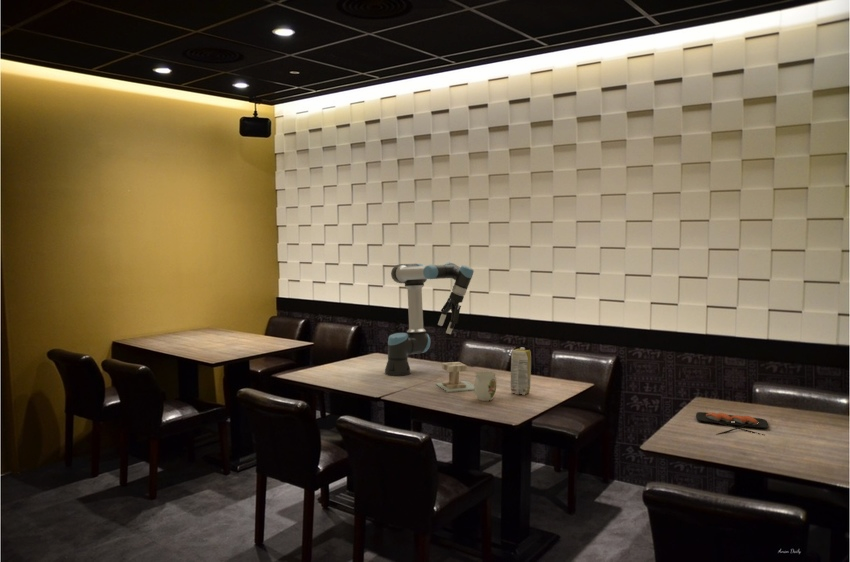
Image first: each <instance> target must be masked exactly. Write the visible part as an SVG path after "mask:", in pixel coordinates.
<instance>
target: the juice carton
mask: <svg viewBox="0 0 850 562" xmlns="http://www.w3.org/2000/svg"><path fill="white" fill-rule="evenodd" d="M531 354H532V352H531V349H526V348H525V347H519V348H516V349H515V348H514V349H512V350H511V357H510V393H511V394H513V393H515V394H514V395H519V394H522V395H521V396H526V395H528V394H529V393H530V390H531V375H532V372H531V371H532V355H531ZM527 393H528V394H527ZM525 394H526V395H525Z"/></svg>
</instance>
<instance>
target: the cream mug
mask: <svg viewBox="0 0 850 562" xmlns="http://www.w3.org/2000/svg"><path fill="white" fill-rule="evenodd" d="M474 374H475V380H474V382H473V383H474V384H473V385H474V389H475V390H474V393H475V396H476V398H477V399H478V401H481V400H482V401H483V402H489V400H490V401H492V399H493V398H494V397H495V394H496V390H497V376H496V375H497V374H496V372H493V371H487V370H486V371H485V370H484V371H483V370H482V371H475V373H474Z"/></svg>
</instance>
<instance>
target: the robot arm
mask: <svg viewBox="0 0 850 562" xmlns="http://www.w3.org/2000/svg"><path fill="white" fill-rule="evenodd" d="M474 272H475V271H474V269H473V268H471V267H469V266H467V265H461V266H459V265H457V264H455V263H453V262H447V263H444V264H429V265H423V264H421V263H399V264H397V265H394V266H393V267H392V269H391V272H390V276H391V279H392V280H393V281H394V282H395V283H396V284H397V283H398V284H404V287H405V288H406V290H407V305H408V306H407V307H408V309H407V310H408V329H407V331H406V332H395V333H393V334H389V336H388V340H387V362H386V365H385V368H384V374H385V375H387V374H388V376H393V375H394V376H396V377H401V376H408V375H411V367H410V364H409V361H408V358H409V357H408V356H409V355H415V354H422V353H426V352H427V351H428V350H429V348H431V347H430V346H431V337H430V335H429V333H427V330H426V329H425V328H424V311H423V293H422V291H423V288H424V287H425V283H427V280H438V279H452V280H454V284H453V285H452V289H451V292H450V295H449V297H448V298H447V300H446V302H445V303H444V305H443V307H442V308H441V310H440V312H441V315H440V316H439V320H438V323H437V325H438V326H440V327H442V326H443V325H444V323H445V320H446V318H447V315H448V313H449V312H450V311H451V318H450V319H451V320H450V321H449V324H448V326H447V329H446V331H445V334H449V335H452V332H453V330H454V327H455V324H458V323H459V317H460V312H461V311H460V310H461V307H462V305H460V303H463V301H464V298H465V296H466V293H467V290H468V288H469V285H470V282H471V280H472V278H473V275H474Z"/></svg>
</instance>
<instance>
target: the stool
mask: <svg viewBox="0 0 850 562" xmlns="http://www.w3.org/2000/svg"><path fill="white" fill-rule="evenodd" d="M467 367H468V366H467V364H464V363H462V362H460V361H452V362H451V361H450V362H442V363H441V368H442V370H445V372H448V376H449V377H448V381H441V383H442V385H443V386H445V387H447V388H448V389H454V388H466V384H464V383H462V382H460V372H467Z"/></svg>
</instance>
